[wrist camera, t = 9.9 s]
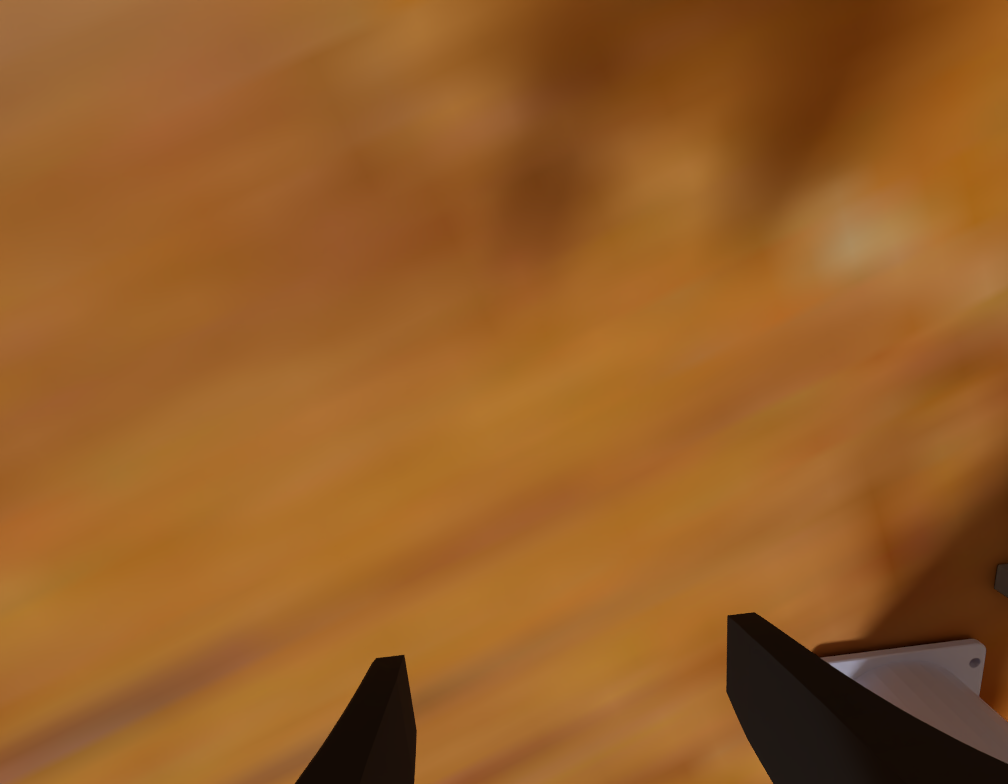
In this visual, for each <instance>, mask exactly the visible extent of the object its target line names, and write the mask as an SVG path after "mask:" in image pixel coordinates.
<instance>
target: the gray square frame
mask: <svg viewBox="0 0 1008 784" xmlns="http://www.w3.org/2000/svg"><path fill="white" fill-rule="evenodd" d="M994 589H996V590H997V591H999V592H1000V593H1002V594H1003V595H1005V596H1006V597H1008V564H1001V565H998V568H997V574H996V581H995V587H994Z"/></svg>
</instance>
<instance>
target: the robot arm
mask: <svg viewBox="0 0 1008 784" xmlns="http://www.w3.org/2000/svg"><path fill="white" fill-rule="evenodd" d="M985 656H986V647H985V646H984V645H983V644H982V643H981V642H979V641H978V640H976V639H965V640H957V641H949V642H941V643H933V644H925V645H917V646H909V647H901V648H893V649H885V650H877V651H869V652H861V653H853V654H845V655H837V656H829V657H821V658H820V657H818V656H817V655H815V654H814V653H812V652H811V651H809V650H808V649H807V648H805V647H804V646H802V645H801V644H799V643H798V642H797V641H795V640H794V639H792V638H791V637H789V636H788V635H787V634H785V633H784V632H782V631H781V630H780V629H778V628H777V627H775V626H774V625H772V624H771V623H770V622H768V621H767V620H765V619H764V618H762V617H761V616H759V615H758V614H756V613H755V612H753V613H745V614H737V615H728V619H727V687H726V692H727V694H728V696H729V699H730V701H731V703H732V706H733V708H734V710H735V713H736V715H737V717H738V719H739V722H740V724H741V726H742V728H743V730H744V732H745V735H746V737H747V739H748V741H749V742H750V744H751V746H752V748H753V750H754V751H755V753H756V755H757V756H758V758H759V760H760V762H761V763H762V765H763V767H764V768H765V770H766V772H767V774H768V775H769V777H770V779H771V780H772V782H773V784H1008V722H1007V721H1006V720H1005V719H1004V718H1003V717H1001V716H1000V715H999V714H998V713H997V712H996V711H995V710H994V709H992V708H991V707H990V706H989V705H988V704H987V703H986V702H984V701H983V700H982V699H981V698H980V697H979V694H980V688H981V681H982V675H983V668H984V662H985ZM416 733H417V730H416V724H415V718H414V712H413V706H412V699H411V693H410V687H409V681H408V675H407V669H406V663H405V657H404V655H399V656H391V657H383V658H376V659H375V660H374V662H373V663H372V664H371V666H370V668H369V670H368V671H367V673H366V675H365V677H364V679H363V680H362V682H361V684H360V686H359V687H358V689H357V691H356V692H355V694H354V696H353V698H352V699H351V701H350V702H349V704H348V706H347V707H346V709H345V711H344V712H343V714H342V715H341V717H340V719H339V720H338V722H337V723H336V725H335V726H334V728H333V729H332V731H331V733H330V734H329V736H328V737H327V739H326V740H325V742H324V743H323V745H322V746H321V748H320V749H319V751H318V752H317V753H316V755H315V756H314V758H313V759H312V760H311V762H310V763H309V765H308V766H307V767H306V769H305V770H304V772H303V773H302V774H301V776H300V777H299V779H298V780H297V781H296V783H295V784H414V776H415V757H416Z"/></svg>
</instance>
